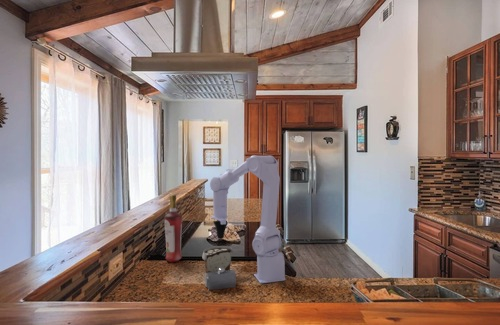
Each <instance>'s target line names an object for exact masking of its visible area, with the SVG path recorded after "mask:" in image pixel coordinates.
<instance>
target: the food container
mask: <svg viewBox="0 0 500 325" xmlns="http://www.w3.org/2000/svg"><path fill="white" fill-rule="evenodd" d="M232 253H233V247H232V246H226V245H216V246H211V247H207V248H205V249H204V250H203V253H202V260H204V268H205V269H204V270H205V273H208V272H217V271H218V268H225V270H231V262H232Z"/></svg>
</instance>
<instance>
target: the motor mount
mask: <svg viewBox="0 0 500 325" xmlns="http://www.w3.org/2000/svg"><path fill="white" fill-rule="evenodd" d="M236 275H237V274H236V270H235V269H230V270H225V268H218V271H217V272H208V273H206V272H204V277H203V278H204V284H205V288H206V287H207V289H209V290H208V291H215V290H214V289H216V290H223V289H229V288H236V286H237V284H236V278H237V277H236Z"/></svg>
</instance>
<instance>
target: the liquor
mask: <svg viewBox="0 0 500 325" xmlns="http://www.w3.org/2000/svg"><path fill="white" fill-rule="evenodd" d="M182 224H183V215H181V214H180V213H178V212H177V194H170V195H169V213H167V214H166V215H164V234H165V235H164V236H165V248H166V250H165V252H166V256H165V260H166V261H168V262H169V263H176V262H179V261H180V260H181V259H182V258H183V256H182V232H183V231H182V230H183V229H182V228H183V225H182Z"/></svg>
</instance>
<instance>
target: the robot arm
mask: <svg viewBox="0 0 500 325" xmlns="http://www.w3.org/2000/svg"><path fill="white" fill-rule="evenodd" d="M278 168H279V161H278V160H277V159H276V158H275V157H274V156H273V155H270V154H269V155H255V154H254V155H251V156H249V157H247V158H246V159H245V161H243V163H241V164H240V165H239V166H237V167H236V168H235V169H234V168H228V169H226V171H225V172H224V173H221V174H219V176H217V177H216V176H214V177H212V178H211V179H210V183H209V188H210V190H211V191H212V197H213V198H212V200H213V201H212V202H213V204H212V205H213V207H212V209H213V216H210V219H211V220H214V221H212V223H213V224H214V226H215V231H216V235H217V239H219V240H221V239H222V240H223V239H224V237H225V233H226V228H227V225H228V193H229V189H230V187H231V186H232V185H234V184H236V183H237V182H238V181H239V180H240V177H242V176H243V175H246V174H248V173H249V172H250V173H251V174H253V175H254V176H256V177H257V178H258V179H260V180H261V181H262V182H263V187H262V189H263V190H262V200H261V201H262V202H261V213H260V225H259V227H258V228H257V230H256V231H255V233H254V238H253V239H252V243H251V245H252V251H253V252H254V253H255V255H256V256H257V257H256V261H257V262H256V263H257V265H256V267H257V269H256V270H257V272H256V273H254V274H253V276H254V277H255V279H256V280H257V281H258V283H259V284H267V283H274V282H281V281H283V282H284V281H286V280H287V279H286V277H285V276H286V272H285V271H286V269H285V267H286V266H285V265H286V264H285V263H286V262H285V257H284V254H283V253H282V252H281V251H279V249H280V248H281V247H282V239H281V231H280V230H279V228H277V219H278V218H277V216H278V206H279V194H280V182H281V178H280V174H279V169H278Z"/></svg>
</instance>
